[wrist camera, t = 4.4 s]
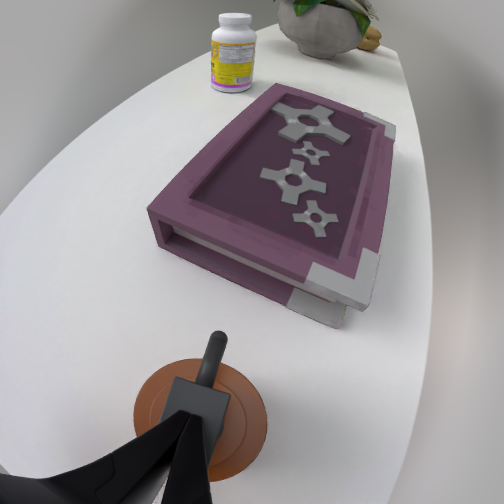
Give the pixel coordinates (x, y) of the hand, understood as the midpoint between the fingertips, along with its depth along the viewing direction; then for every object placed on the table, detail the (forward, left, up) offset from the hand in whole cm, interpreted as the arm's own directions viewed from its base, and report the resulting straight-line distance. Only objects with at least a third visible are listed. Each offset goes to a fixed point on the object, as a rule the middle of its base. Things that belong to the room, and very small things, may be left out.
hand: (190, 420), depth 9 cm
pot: (+80, -63, -10) cm, 102 cm away
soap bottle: (0, 0, -10) cm, 9 cm away
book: (+18, -13, -10) cm, 25 cm away
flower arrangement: (+64, -38, -10) cm, 75 cm away
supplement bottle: (+43, -12, -10) cm, 46 cm away
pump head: (+1, 0, -2) cm, 2 cm away
